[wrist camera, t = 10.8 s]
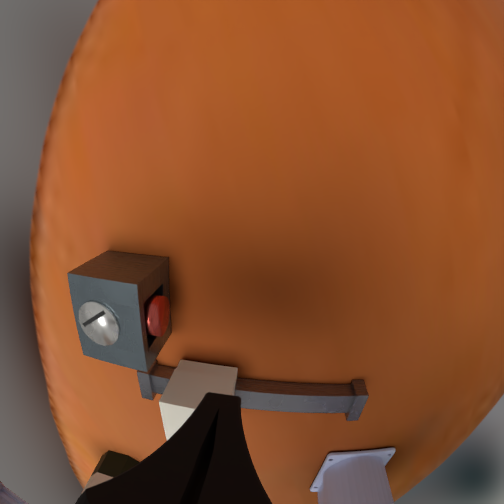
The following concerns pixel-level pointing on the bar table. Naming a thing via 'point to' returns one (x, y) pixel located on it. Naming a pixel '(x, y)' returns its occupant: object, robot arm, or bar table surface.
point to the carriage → (192, 390)
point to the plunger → (156, 315)
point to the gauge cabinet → (119, 307)
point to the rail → (276, 393)
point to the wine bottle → (110, 467)
